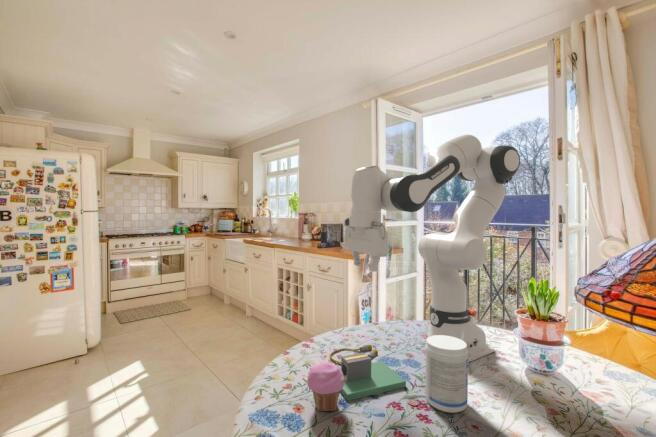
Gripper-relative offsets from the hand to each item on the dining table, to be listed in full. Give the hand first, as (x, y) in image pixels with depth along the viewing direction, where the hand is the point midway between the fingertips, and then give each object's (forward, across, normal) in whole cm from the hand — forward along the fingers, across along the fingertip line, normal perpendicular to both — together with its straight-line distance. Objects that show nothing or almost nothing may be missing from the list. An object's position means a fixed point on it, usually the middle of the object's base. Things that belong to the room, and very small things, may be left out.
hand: (364, 268), depth 93 cm
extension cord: (+30, +6, 0) cm, 30 cm away
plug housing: (+28, -7, +6) cm, 29 cm away
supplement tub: (+29, -23, -10) cm, 39 cm away
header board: (+29, -8, +3) cm, 30 cm away
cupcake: (+29, -14, +18) cm, 37 cm away
